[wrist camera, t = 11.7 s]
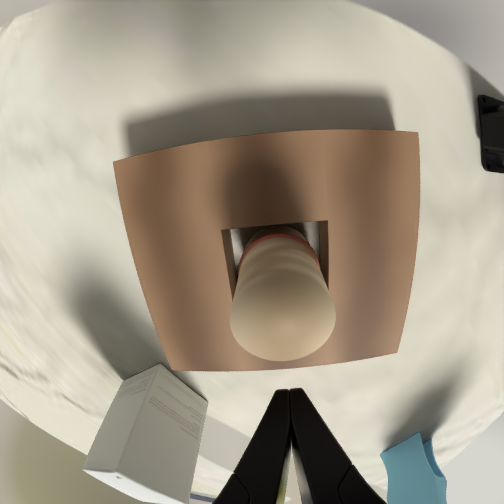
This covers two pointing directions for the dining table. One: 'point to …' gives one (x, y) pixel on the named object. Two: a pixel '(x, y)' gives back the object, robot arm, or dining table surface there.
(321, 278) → the beech peg
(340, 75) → the dining table surface
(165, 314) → the walnut board
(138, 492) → the supplement box
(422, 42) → the dining table surface
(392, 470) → the vase
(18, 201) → the dining table surface
